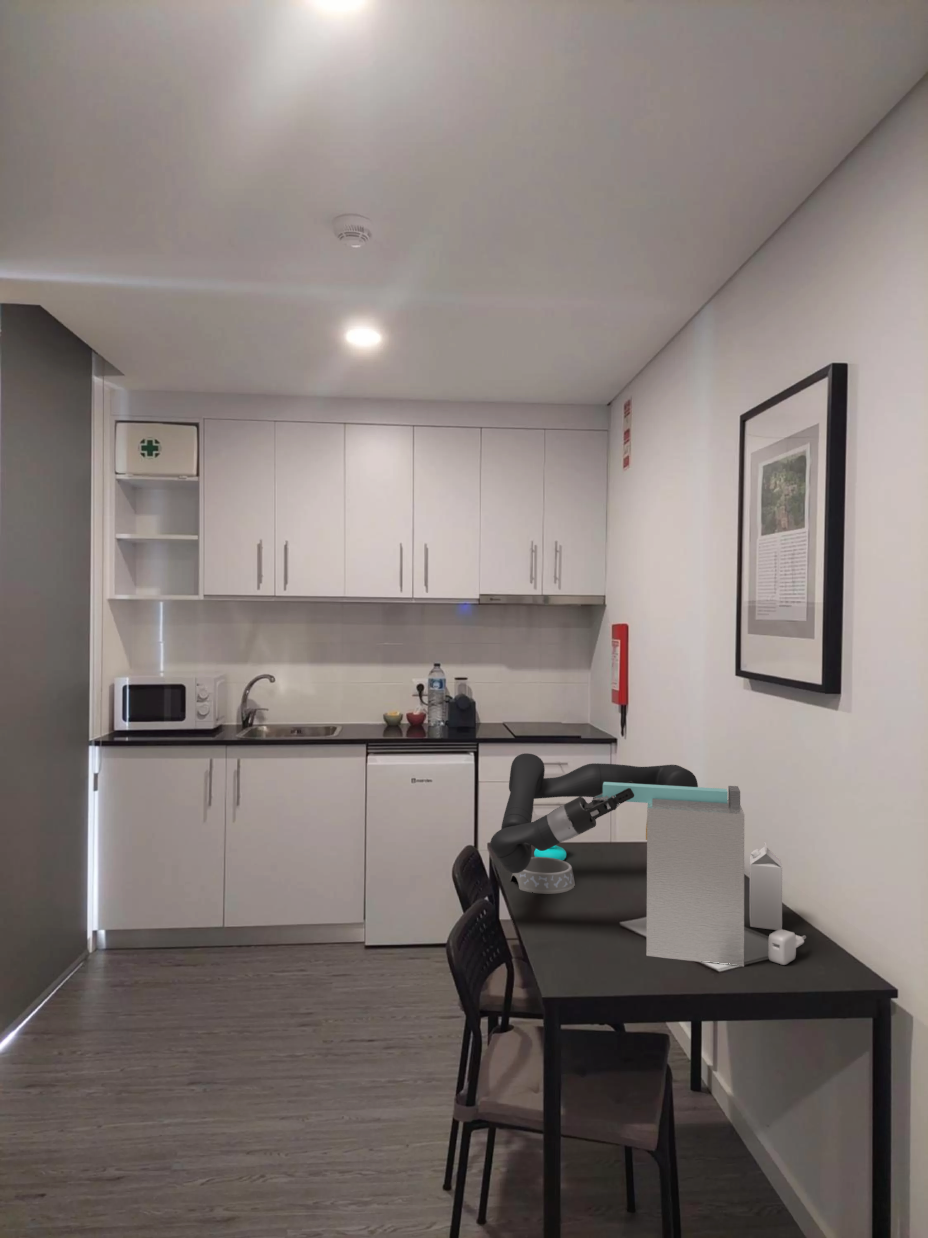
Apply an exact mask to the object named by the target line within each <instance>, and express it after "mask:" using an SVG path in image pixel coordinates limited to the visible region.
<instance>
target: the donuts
mask: <svg viewBox="0 0 928 1238" xmlns="http://www.w3.org/2000/svg"><path fill="white" fill-rule="evenodd" d="M533 857H548V858H555V859H559V860H562V861H565V859H566V858H567V851H566V850H565V848H563V847H562V846H559V845H555V846H553V847H551V848H549V849H547V850H544V851H540V850H538V849H536V848H535V850H534V852H533Z"/></svg>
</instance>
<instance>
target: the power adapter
mask: <svg viewBox="0 0 928 1238" xmlns="http://www.w3.org/2000/svg"><path fill="white" fill-rule="evenodd" d="M767 938H768V941H767V943H768V944H767V946H768V947H767V952H768V953H767V956H768V960H769V961H770V962H773V963H775V964H777V965H779V964H780V965H782V966H785V965H788V964H790V963H791V962H793V961H794V960H795V959H796V955H797V948H799V947H800V946H802V945H804V943H805V939H807V936H806V935H802V936H800V935H797V934H795V932H794V931H789V930H786V929H783V928H782V929H779V930H774V931H773V932H772V933H769V936H768V937H767Z"/></svg>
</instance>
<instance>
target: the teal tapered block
mask: <svg viewBox="0 0 928 1238" xmlns="http://www.w3.org/2000/svg"><path fill="white" fill-rule="evenodd" d="M627 788H631V790H632V791H633V793H634V797H633V798H631V799H629V800H627V801H625V802H629V803H641V804H642V803H645V804H648V803H652V798H656V799H672V800H688V801H705V802H721V803H727V802H728V790H727V788H719V787H718V788H717V787H716V788H715V787H700V786H698V787H685V786H668V785H650V784H633V783H615V782H604V783H603V796H608V797H610V796H612V795H616V794H618V793H620V792H621V791H623V790H625V789H627ZM615 797H616V796H615ZM625 802H624V803H625Z"/></svg>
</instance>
